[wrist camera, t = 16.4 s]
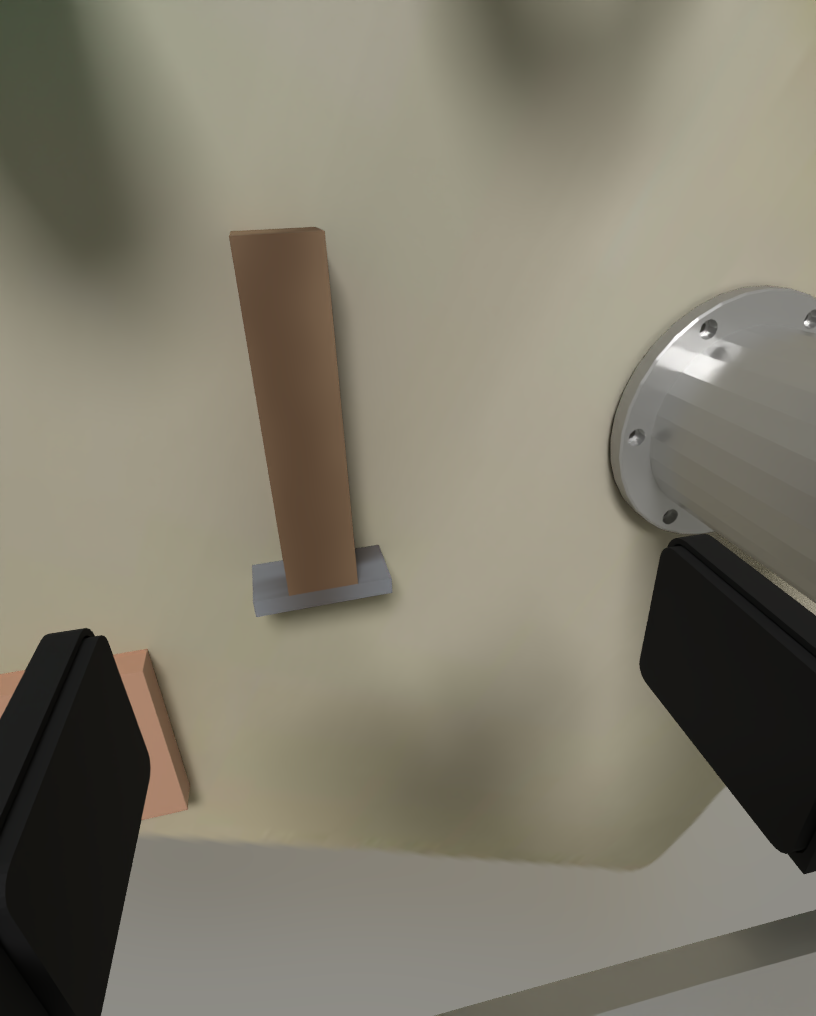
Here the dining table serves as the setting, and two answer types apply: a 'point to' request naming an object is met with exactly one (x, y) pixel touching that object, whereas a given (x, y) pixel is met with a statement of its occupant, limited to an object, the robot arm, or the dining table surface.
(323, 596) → the tall wooden post
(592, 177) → the dining table surface
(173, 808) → the tile
